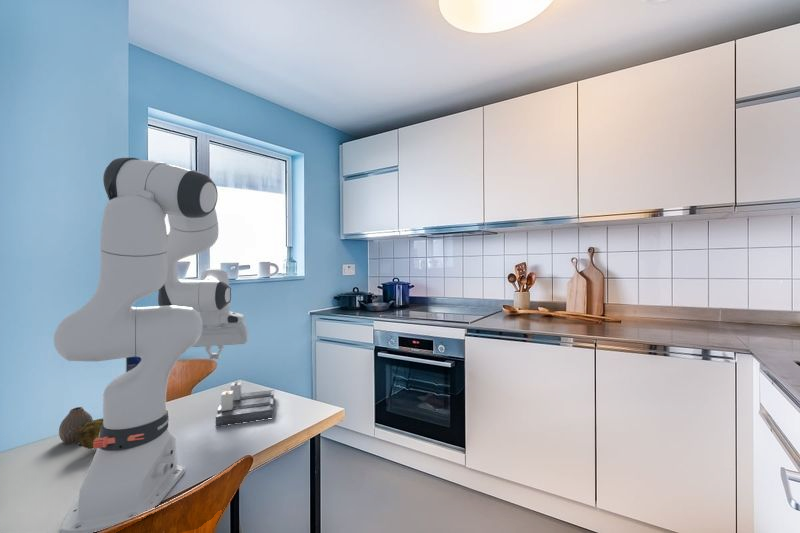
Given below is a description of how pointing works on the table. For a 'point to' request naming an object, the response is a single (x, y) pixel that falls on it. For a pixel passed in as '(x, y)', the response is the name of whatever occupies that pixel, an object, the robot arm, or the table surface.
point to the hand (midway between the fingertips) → (214, 358)
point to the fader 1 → (227, 400)
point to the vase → (73, 424)
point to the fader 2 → (236, 390)
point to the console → (248, 408)
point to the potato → (89, 433)
